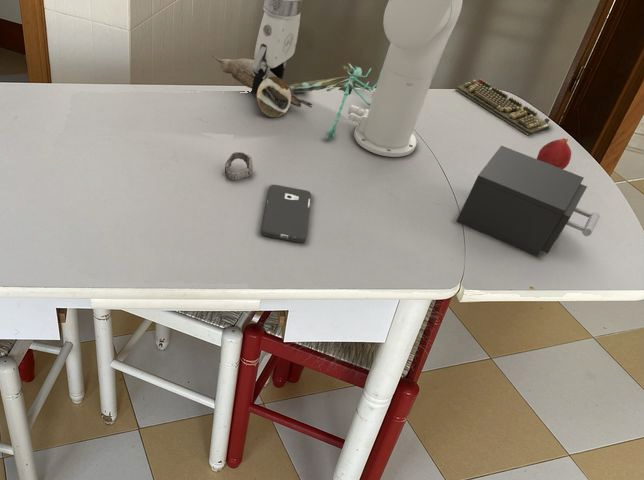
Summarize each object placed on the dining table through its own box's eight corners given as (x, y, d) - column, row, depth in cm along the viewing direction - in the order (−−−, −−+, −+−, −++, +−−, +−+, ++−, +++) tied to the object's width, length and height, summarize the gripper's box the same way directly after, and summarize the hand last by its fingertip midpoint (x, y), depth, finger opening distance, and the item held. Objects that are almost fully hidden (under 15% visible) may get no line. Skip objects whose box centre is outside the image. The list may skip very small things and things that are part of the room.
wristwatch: (234, 159, 131) (258, 167, 129) (220, 180, 128) (244, 188, 127) (235, 144, 128) (259, 152, 127) (220, 165, 125) (245, 173, 124)
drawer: (588, 232, 123) (612, 196, 117) (571, 264, 117) (596, 227, 111) (492, 192, 129) (511, 156, 123) (471, 221, 123) (490, 184, 117)
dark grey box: (556, 222, 126) (584, 177, 119) (537, 257, 119) (565, 210, 112) (479, 190, 131) (501, 145, 124) (456, 221, 124) (478, 175, 117)
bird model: (224, 41, 156) (221, 63, 159) (206, 46, 152) (203, 69, 156) (325, 85, 142) (319, 108, 145) (308, 91, 139) (303, 115, 142)
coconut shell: (290, 117, 145) (273, 113, 150) (295, 78, 141) (278, 75, 147) (258, 117, 141) (242, 113, 146) (262, 76, 138) (246, 74, 143)
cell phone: (306, 239, 115) (305, 244, 116) (312, 190, 125) (310, 195, 126) (261, 230, 116) (260, 235, 116) (270, 182, 125) (269, 187, 126)
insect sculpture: (265, 140, 143) (296, 72, 162) (360, 155, 139) (381, 83, 157) (267, 114, 139) (298, 47, 157) (365, 128, 134) (386, 57, 152)
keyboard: (453, 89, 159) (457, 81, 157) (480, 82, 162) (484, 73, 161) (527, 136, 147) (531, 127, 145) (554, 127, 150) (559, 118, 149)
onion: (528, 175, 136) (547, 139, 130) (532, 162, 140) (551, 126, 134) (558, 185, 135) (579, 149, 129) (561, 171, 138) (582, 135, 132)
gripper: (277, 22, 130) (260, 110, 144) (319, -3, 140) (300, 81, 154) (244, 9, 133) (230, 96, 146) (288, -14, 143) (271, 69, 156)
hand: (266, 88), depth 150 cm, fingers closed on bird model, 6 cm apart
